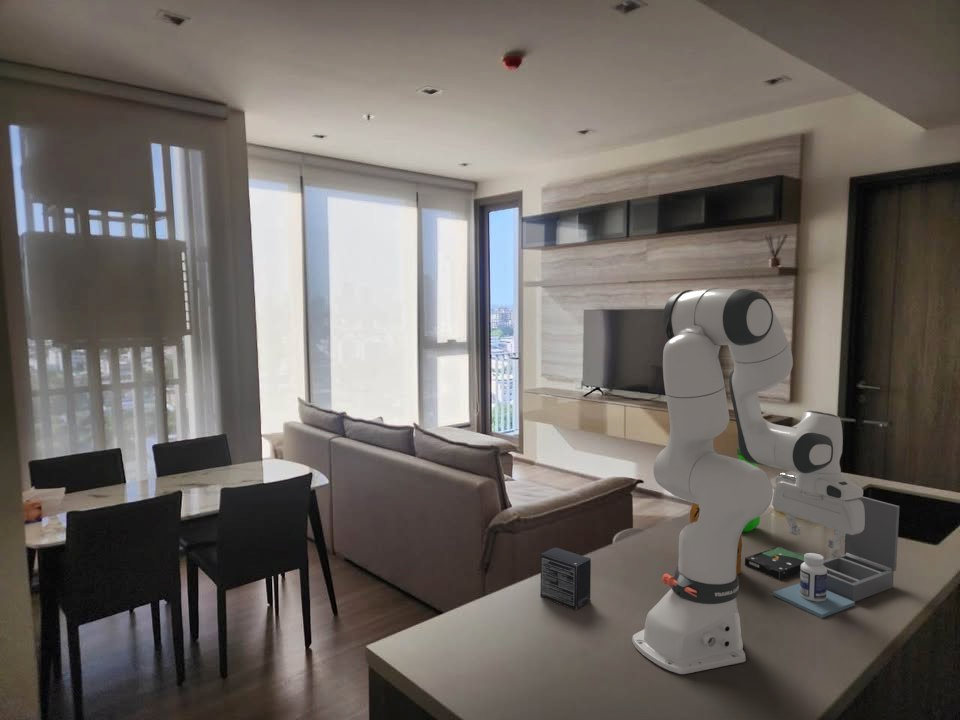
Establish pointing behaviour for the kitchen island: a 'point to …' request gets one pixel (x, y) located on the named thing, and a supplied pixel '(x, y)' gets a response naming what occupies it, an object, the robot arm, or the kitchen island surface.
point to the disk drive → (776, 562)
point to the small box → (565, 577)
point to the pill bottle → (813, 578)
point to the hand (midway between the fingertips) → (813, 540)
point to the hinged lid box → (867, 554)
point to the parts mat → (819, 609)
